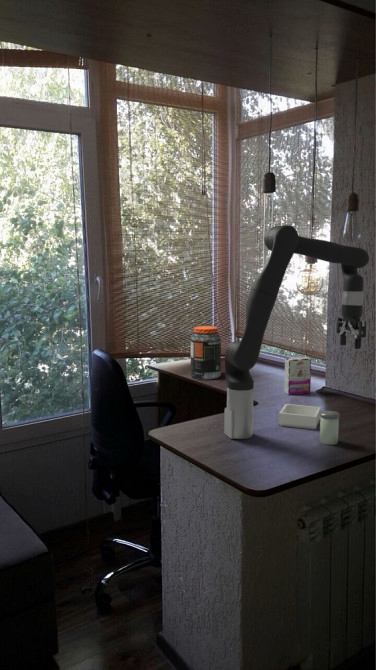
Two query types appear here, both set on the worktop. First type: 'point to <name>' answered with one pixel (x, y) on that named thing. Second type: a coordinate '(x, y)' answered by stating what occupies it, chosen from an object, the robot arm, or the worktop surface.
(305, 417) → the tray
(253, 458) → the worktop surface
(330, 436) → the jar
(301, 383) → the candy bar box
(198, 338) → the supplement tub
